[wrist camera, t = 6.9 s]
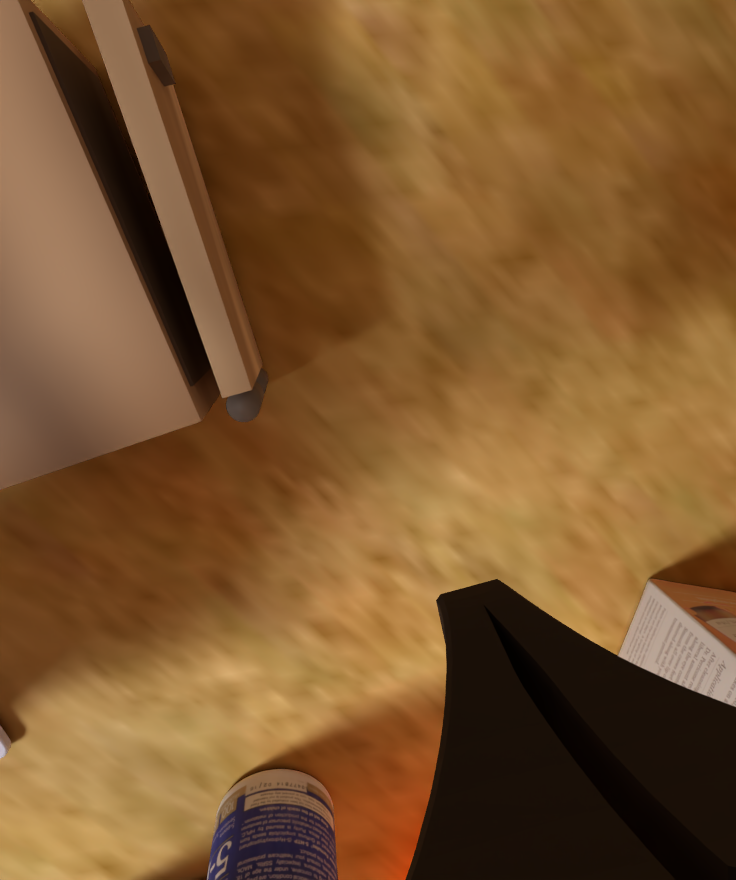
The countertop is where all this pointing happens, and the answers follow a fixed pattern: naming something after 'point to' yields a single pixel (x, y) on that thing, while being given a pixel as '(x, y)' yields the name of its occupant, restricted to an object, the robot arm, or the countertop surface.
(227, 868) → the pill bottle
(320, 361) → the countertop surface
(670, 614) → the small box
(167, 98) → the door
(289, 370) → the countertop surface
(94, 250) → the cabinet
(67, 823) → the countertop surface
